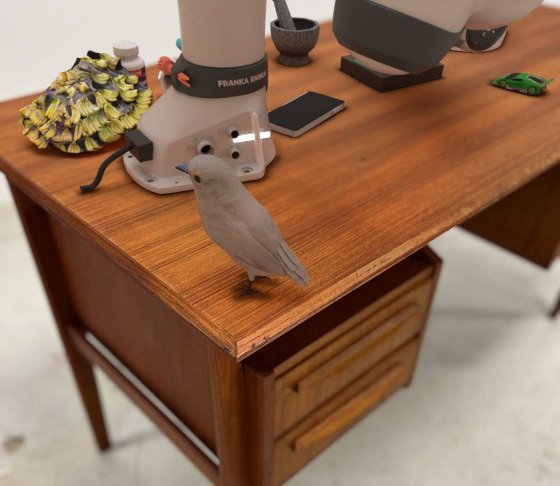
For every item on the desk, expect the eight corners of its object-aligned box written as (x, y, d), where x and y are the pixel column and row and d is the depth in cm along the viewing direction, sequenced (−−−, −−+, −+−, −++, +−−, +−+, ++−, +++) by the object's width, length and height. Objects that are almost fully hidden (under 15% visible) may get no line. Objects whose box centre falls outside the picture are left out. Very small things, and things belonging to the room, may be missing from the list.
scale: (380, 91, 105) (383, 72, 103) (339, 69, 113) (341, 51, 111) (441, 77, 111) (445, 59, 108) (398, 57, 119) (401, 40, 117)
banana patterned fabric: (59, 183, 84) (36, 153, 78) (15, 124, 91) (-9, 92, 85) (170, 112, 87) (156, 78, 82) (120, 60, 94) (104, 25, 89)
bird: (203, 260, 66) (182, 139, 56) (315, 280, 63) (316, 156, 52) (185, 287, 63) (160, 164, 52) (303, 310, 59) (301, 183, 49)
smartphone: (256, 118, 93) (308, 90, 102) (256, 125, 94) (308, 96, 102) (296, 131, 89) (347, 101, 98) (296, 139, 90) (346, 108, 99)
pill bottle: (137, 113, 96) (128, 52, 89) (111, 107, 97) (100, 46, 91) (156, 101, 99) (148, 42, 93) (131, 96, 101) (121, 37, 94)
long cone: (199, 64, 116) (201, 92, 100) (169, 75, 116) (167, 104, 101) (188, 35, 112) (189, 59, 97) (158, 45, 112) (154, 71, 97)
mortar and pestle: (327, 61, 116) (331, -5, 108) (294, 72, 112) (297, 4, 103) (288, 48, 122) (289, -16, 114) (256, 57, 117) (255, -8, 109)
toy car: (489, 85, 108) (492, 72, 107) (499, 78, 111) (502, 66, 109) (542, 97, 104) (546, 84, 102) (550, 90, 106) (554, 77, 105)
